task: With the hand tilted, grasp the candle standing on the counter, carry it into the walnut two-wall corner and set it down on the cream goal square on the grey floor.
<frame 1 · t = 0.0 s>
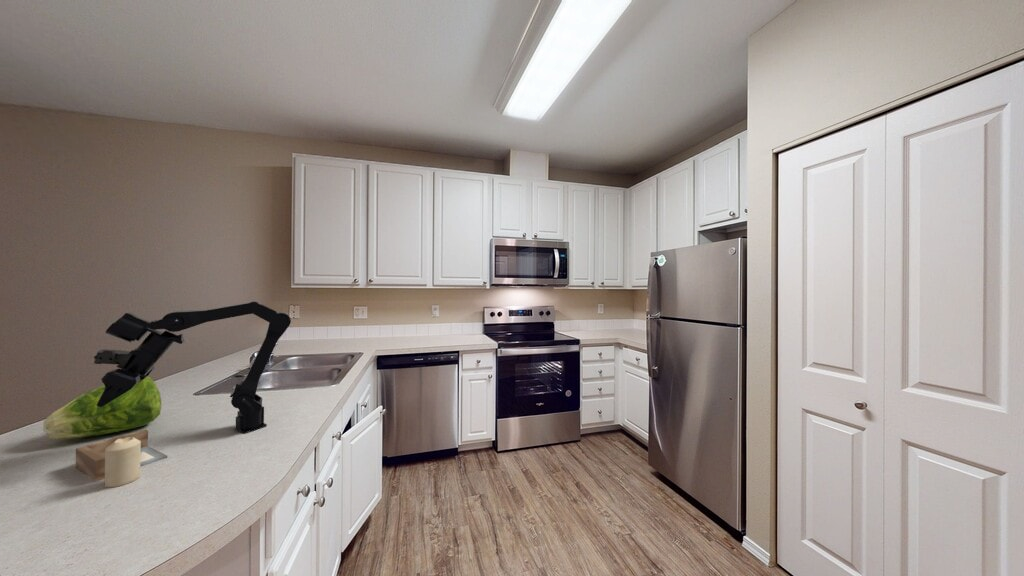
hand: (105, 401, 90), 15 cm above the counter, tool tilted 35°, fingers open, 9 cm apart
lettuce: (107, 433, 104), on the counter
candle: (122, 481, 79), on the counter
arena: (128, 461, 87), on the counter
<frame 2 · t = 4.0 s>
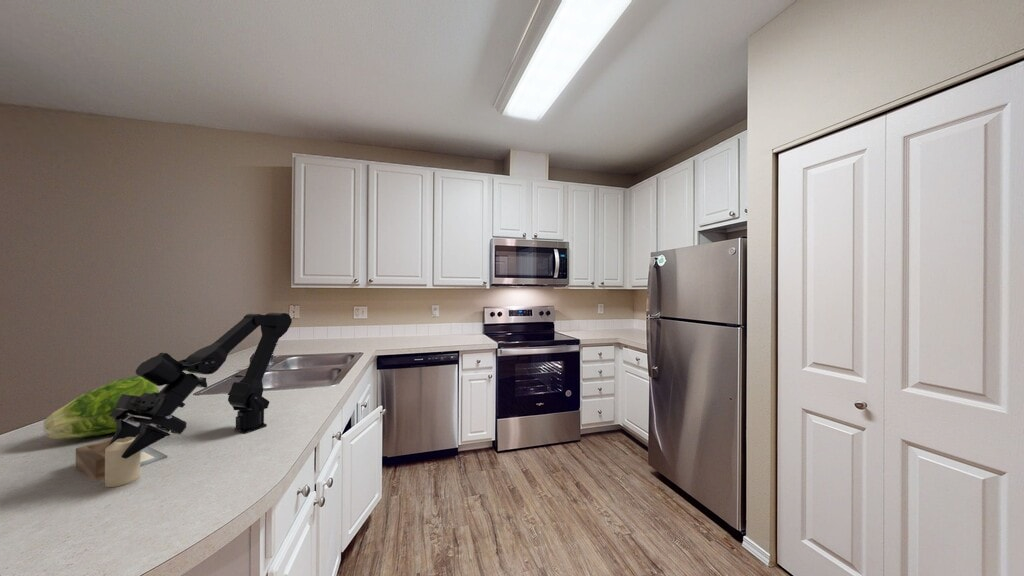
hand: (115, 456, 78), 7 cm above the counter, tool tilted 45°, fingers closed on candle, 5 cm apart
candle: (122, 481, 79), on the counter, touching gripper
everything else where it was.
when the fingers open (8 cm above the counter, at t = 7.1 s): candle drops 1 cm, resting on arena.
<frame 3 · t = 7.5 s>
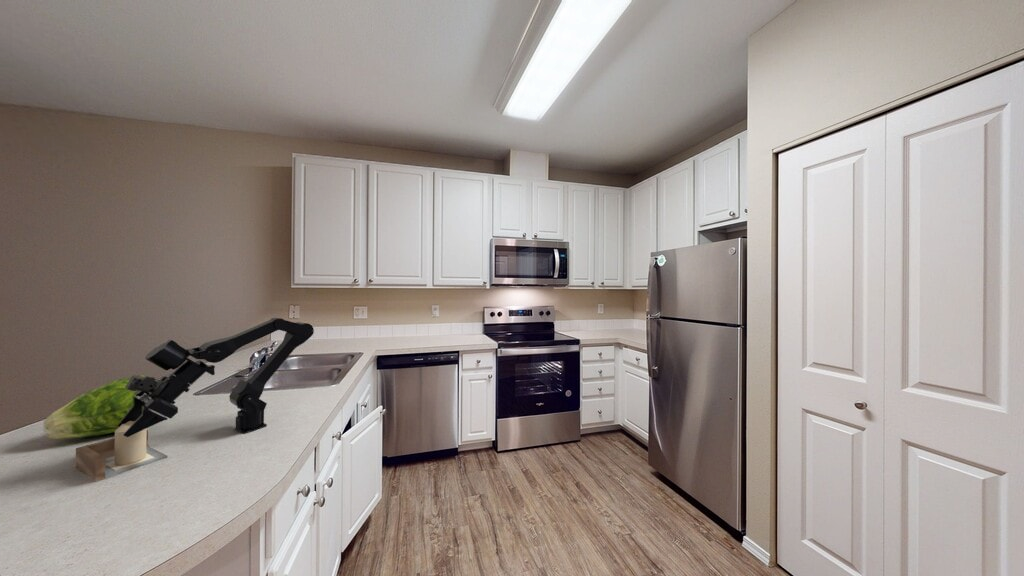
hand: (122, 431, 86), 9 cm above the counter, tool tilted 45°, fingers open, 9 cm apart
candle: (130, 460, 87), resting on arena
everything else where it was.
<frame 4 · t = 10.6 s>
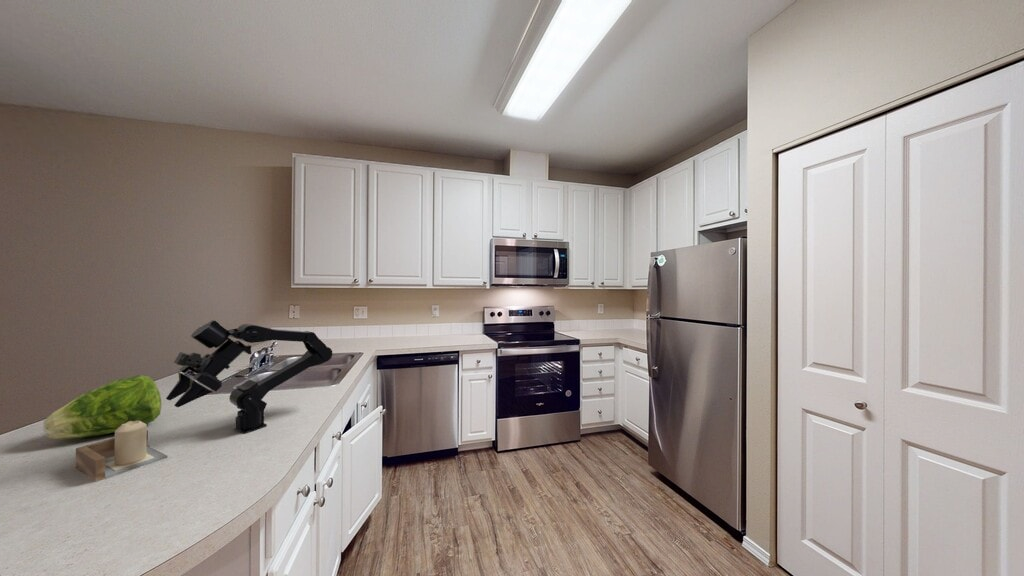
hand: (171, 402, 93), 14 cm above the counter, tool tilted 45°, fingers open, 9 cm apart
nothing on the counter moved.
at the end: candle inside the target area on the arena (0.9 cm from its centre), point 0.4 cm above the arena's base; candle tilted 0°; the gripper is holding nothing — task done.
